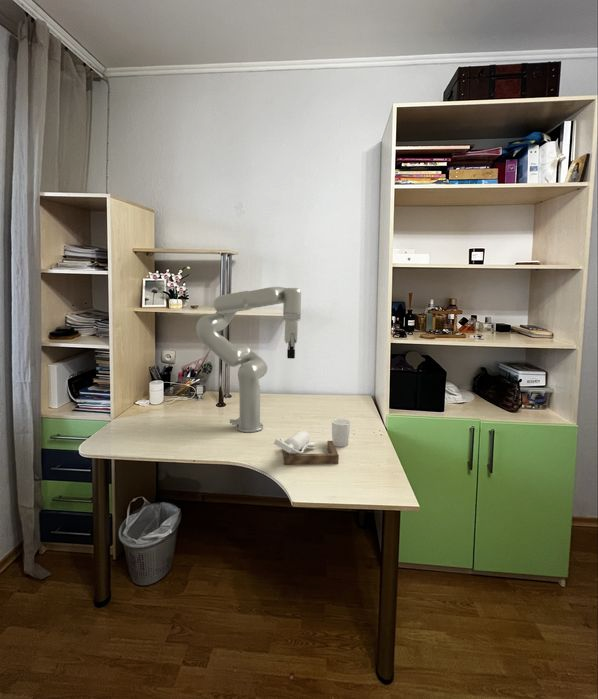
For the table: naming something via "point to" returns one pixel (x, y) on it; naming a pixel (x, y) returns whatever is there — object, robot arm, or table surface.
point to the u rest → (312, 457)
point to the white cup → (340, 432)
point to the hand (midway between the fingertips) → (291, 358)
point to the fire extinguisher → (295, 443)
